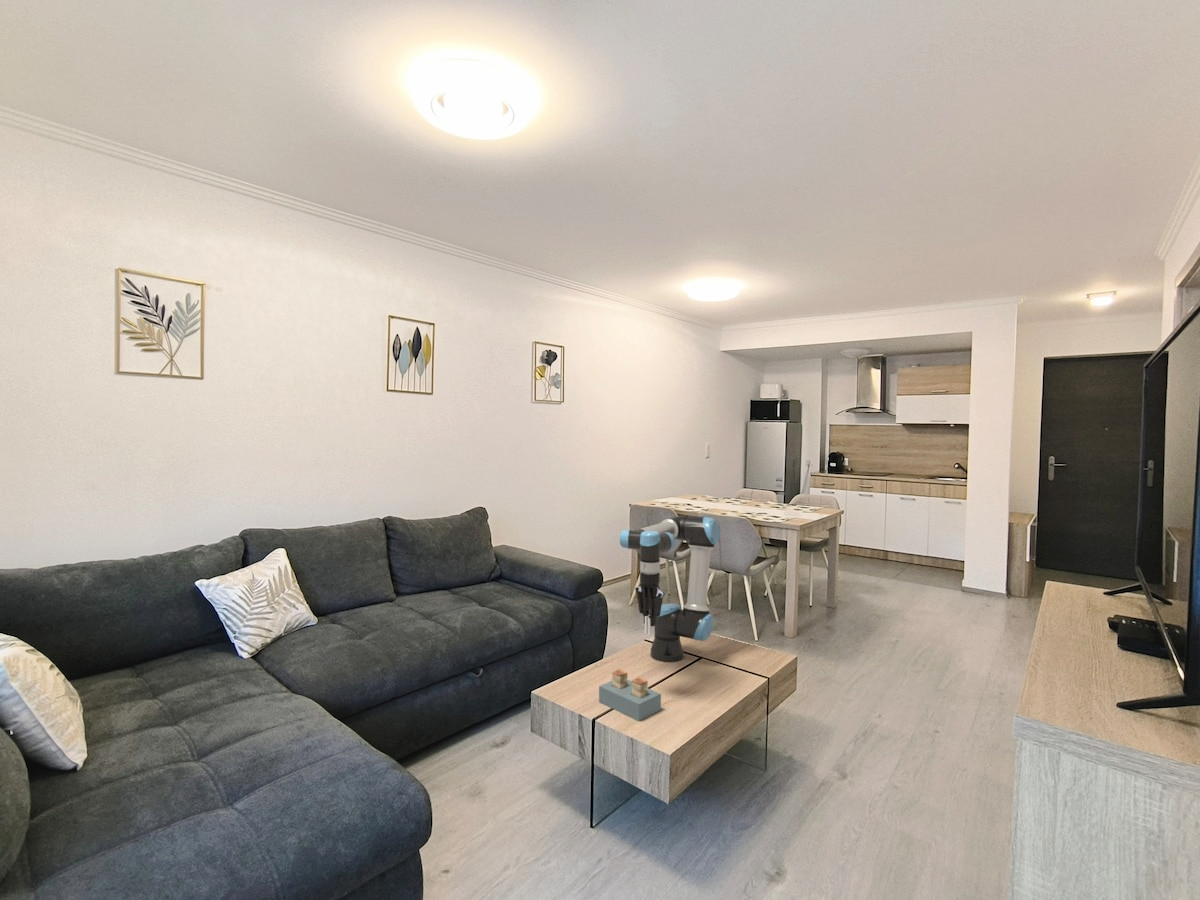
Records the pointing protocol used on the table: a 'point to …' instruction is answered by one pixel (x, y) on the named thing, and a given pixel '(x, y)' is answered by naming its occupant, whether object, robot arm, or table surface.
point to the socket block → (630, 701)
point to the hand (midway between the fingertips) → (649, 633)
